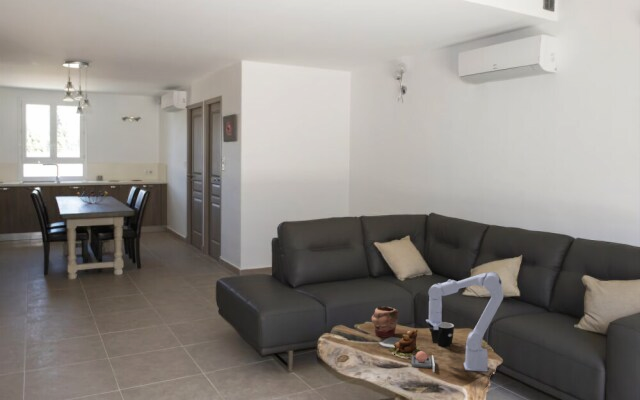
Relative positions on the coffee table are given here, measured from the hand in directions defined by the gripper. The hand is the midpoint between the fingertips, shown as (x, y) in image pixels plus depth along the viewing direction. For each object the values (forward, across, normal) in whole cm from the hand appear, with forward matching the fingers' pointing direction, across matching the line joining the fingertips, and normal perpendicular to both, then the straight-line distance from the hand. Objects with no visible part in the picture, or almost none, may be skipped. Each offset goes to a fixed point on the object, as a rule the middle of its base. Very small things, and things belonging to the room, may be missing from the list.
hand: (434, 340), depth 249 cm
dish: (+10, +3, -6) cm, 12 cm away
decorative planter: (+10, -35, -23) cm, 43 cm away
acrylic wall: (+10, +6, -1) cm, 12 cm away
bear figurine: (+11, -9, -13) cm, 19 cm away
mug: (+11, -25, +7) cm, 28 cm away
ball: (+10, +3, -6) cm, 12 cm away
